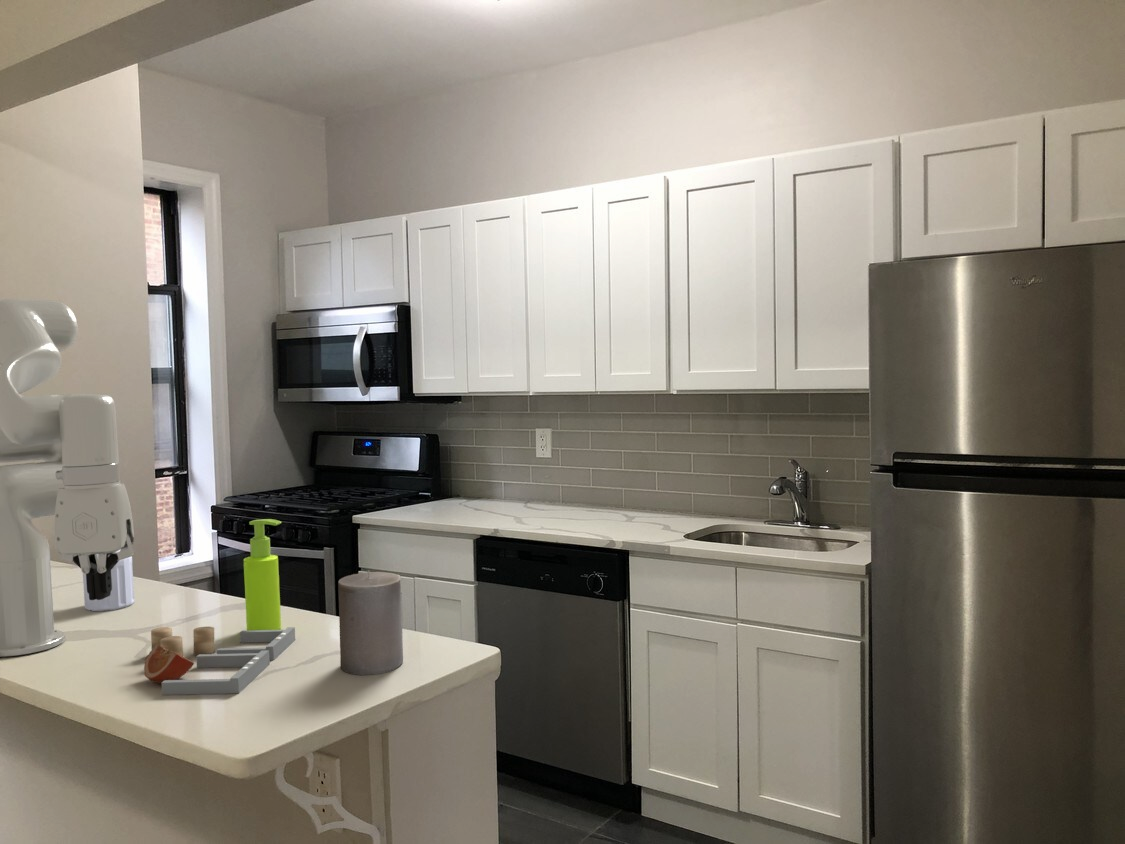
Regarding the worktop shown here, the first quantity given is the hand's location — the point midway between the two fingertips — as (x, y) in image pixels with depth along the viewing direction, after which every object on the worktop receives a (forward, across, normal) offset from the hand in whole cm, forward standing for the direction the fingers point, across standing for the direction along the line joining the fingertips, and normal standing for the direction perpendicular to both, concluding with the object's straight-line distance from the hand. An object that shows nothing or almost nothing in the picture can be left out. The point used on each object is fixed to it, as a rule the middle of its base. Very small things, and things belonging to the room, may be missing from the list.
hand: (100, 597), depth 137 cm
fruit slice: (+13, +10, +1) cm, 16 cm away
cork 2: (+13, +6, +8) cm, 17 cm away
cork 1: (+13, +2, +14) cm, 19 cm away
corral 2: (+13, +18, +15) cm, 27 cm away
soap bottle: (+12, -24, +46) cm, 54 cm away
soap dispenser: (+13, +15, +26) cm, 33 cm away
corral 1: (+13, +17, 0) cm, 21 cm away
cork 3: (+13, +9, +14) cm, 21 cm away
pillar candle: (+14, +39, +6) cm, 42 cm away
